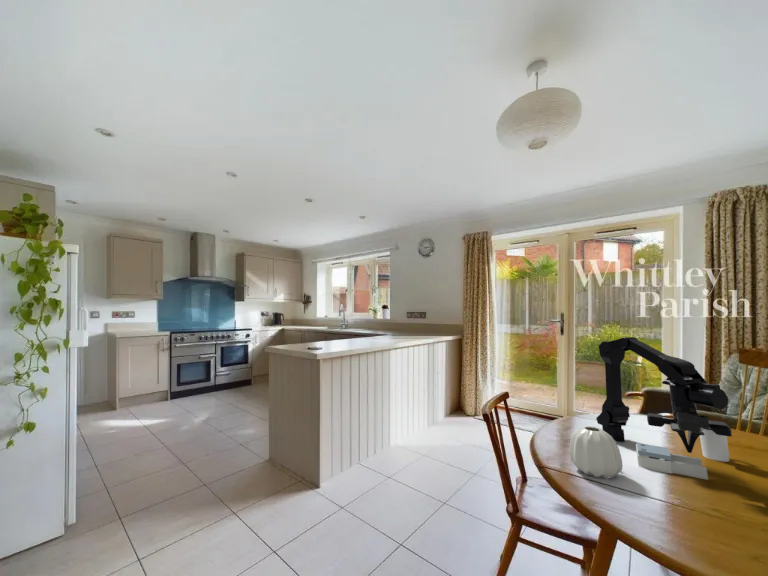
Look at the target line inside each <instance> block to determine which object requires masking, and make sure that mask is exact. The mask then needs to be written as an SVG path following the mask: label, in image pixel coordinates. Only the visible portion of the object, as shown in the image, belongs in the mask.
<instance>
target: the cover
mask: <svg viewBox="0 0 768 576" xmlns="http://www.w3.org/2000/svg"><path fill="white" fill-rule="evenodd" d="M636 444H637V448H638V455H644V456H649V457H654V458H660V459H665V460H670V461H671V455H670V453H671V452H670V450H669V448H668V447H665V446H659V445H655V444H654V445H652V444H648V443H647V444H646V443H640V442H636Z"/></svg>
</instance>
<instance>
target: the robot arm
mask: <svg viewBox="0 0 768 576" xmlns="http://www.w3.org/2000/svg"><path fill="white" fill-rule="evenodd" d="M598 351H599V356H600V358H601V359H602V360H603V363H604V371H605V373H604V374H605V392H606V393H605V394H606V396H605V397H606V398H605V400H604V402H603V404H602V405H601V406H602V407H601V413H600V414H598V416H596V418H595V419H596V422H597V424H598V425H601V426H602V427H601V429H602V430H603V431H605V432H607V433H608V434H609V435H610V436H612V437H613V439H614V440H615V442H616V443H617V442H623V443H625V441H626V439H625V430H624V429H623V428H622V427H626V426H627V422H628V421H629V418H630V417H631V415H630V407H629V406H628V405H625V403H624V402H623V397H622V395H623V394H622V375H621V370H622V369H621V364H622V362H623V360H624V359H625V357H626V356H625V355H626V352H628V351H631V352H633V353H634V354H636V355H638V356H640V357H641V358H643V359H645V360H646V361H648V362H650V363H651V364H653V365H654V366H656V368H657V369H658V371H659V372H660V373H662V374H663V375H664V376H665V377H667V378H666V379H664V380H663V381H662V382H661V384H662V385H666V386H667V385H668V387H669V394H670V402H671V404H670V405H671V411H672V418H669V417H668V418H667V417H663V415H662V414H659V413H652V412H648V413H647V414H646V419H647V424H648V426H652V427H660V428H661V427H664V426H665V425H669V427H670V429H671V431H672V432H676V433H677V434H678V436H679V437H680V439H681V442H682V444H683V445H684V447H685V449H686V452H687V453H689V454H691V453H692V452H693V449H694V446H695V444H696V441H697V440H698V438H700V435H704V433H703V430H704V429H706V430H712V431H713V432H714V433H716V434H717V435H723V436H727V437H733V435H732V429H731V427H730V426H729V425H728V424H727V423H726V422H724V421H717V420H709V416H708V415H704V414H703V415H702V414H698V412H697V410H698V409H697V405H700V406H703V407H704V406H705V407H708V408H712V409H717V410H724V409H726V408H727V406H728V404H729V396H727V393H726V392H725V391H724V390H722V389H721V385H720V384H715V383H714V384H712V383H708V382H707V380H706V379H705V378H704V377H703V376H702V375H701V374H700V373H699V372H698V370H697V369H696V368H695V367H696V366H695V364H693V363H692V362H690V361H689V360H685V359H682V358H679V357H675V356H671V355H668V354H665V353H664V352H662V351H660V350H658V349H656V348H654V347H652V346H651V345H649V344H646V343H644V342H643V341H641V340H639V339H638V338H637V337H634V336H625V337H620V338H617V339H614V340H610V341H602V342H601V343H599V345H598ZM686 432H687V436H688V437H687V436H686Z"/></svg>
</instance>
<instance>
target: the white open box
mask: <svg viewBox="0 0 768 576" xmlns="http://www.w3.org/2000/svg"><path fill="white" fill-rule="evenodd" d="M635 447H636V448H635V450H636V456H637V464H638V468H643V469H647V470H652V471H657V472H662V473H667V474H670V475H671V474H678V475H681V476H687V477H693V478H698V479H703V480H709V477H708V468H707V467H706V466H703V462H702V461H703V460H702V458H699V457H694V456H688V455H682V454H676V453H671V452H669V453H670V455H671V461H670V460H665V459H654V458H649V457H648V456H644V455H638V448H637V443H635Z"/></svg>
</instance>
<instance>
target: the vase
mask: <svg viewBox="0 0 768 576" xmlns="http://www.w3.org/2000/svg"><path fill="white" fill-rule="evenodd" d="M569 441H570V442H569V458H570V461H571V462H572V463H573V465H574V466H575V467H576V468H577V470H578V471H580V472H582V473H584V474H585V475H588V476H592V477H595V478H601V479H610V478H615V477H616V476H618V475H619V474H620V472H622V470H623V459H622V454H621V452H620V448H619V446H618V443H617V441H615V440H614V439H613V437H612V436H610V435H609V434H608V433H607V432H605V431H603V429H602V428H600V427H595V426H586V425H585V426H583V427H580V428H578V429H576V430H575V431H574V432H573V434H572V435H571V437H570V440H569Z"/></svg>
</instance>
